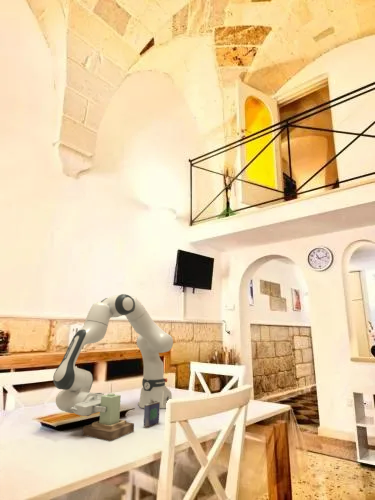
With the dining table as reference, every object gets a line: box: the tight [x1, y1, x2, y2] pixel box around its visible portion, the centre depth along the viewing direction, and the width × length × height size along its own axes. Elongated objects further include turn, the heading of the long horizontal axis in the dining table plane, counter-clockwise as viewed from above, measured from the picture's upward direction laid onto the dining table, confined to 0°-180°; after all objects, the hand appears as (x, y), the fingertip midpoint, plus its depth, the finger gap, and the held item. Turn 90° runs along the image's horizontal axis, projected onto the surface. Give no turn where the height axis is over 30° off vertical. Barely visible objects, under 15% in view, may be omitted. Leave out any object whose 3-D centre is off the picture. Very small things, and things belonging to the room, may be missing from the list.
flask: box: [143, 398, 160, 429], centre depth 143 cm, size 9×3×11 cm, turn 146°
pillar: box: [99, 392, 121, 425], centre depth 133 cm, size 6×6×11 cm
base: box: [82, 418, 135, 442], centre depth 131 cm, size 14×14×4 cm
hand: (112, 407), depth 132 cm, fingers closed on pillar, 5 cm apart
